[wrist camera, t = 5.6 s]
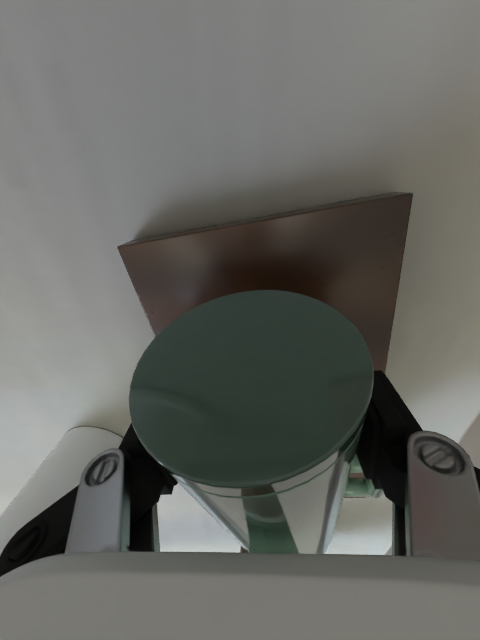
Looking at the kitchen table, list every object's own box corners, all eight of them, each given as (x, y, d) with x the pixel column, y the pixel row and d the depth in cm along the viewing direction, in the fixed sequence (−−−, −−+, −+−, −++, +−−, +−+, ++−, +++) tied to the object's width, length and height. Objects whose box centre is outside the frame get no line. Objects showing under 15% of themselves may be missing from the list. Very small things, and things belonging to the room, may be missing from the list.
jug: (234, 447, 18) (167, 301, 10) (357, 442, 17) (404, 268, 8) (227, 571, 13) (73, 489, 5) (402, 578, 12) (641, 481, 3)
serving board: (131, 240, 12) (116, 246, 11) (395, 191, 11) (414, 192, 9) (224, 481, 24) (222, 498, 23) (359, 479, 22) (365, 497, 21)
